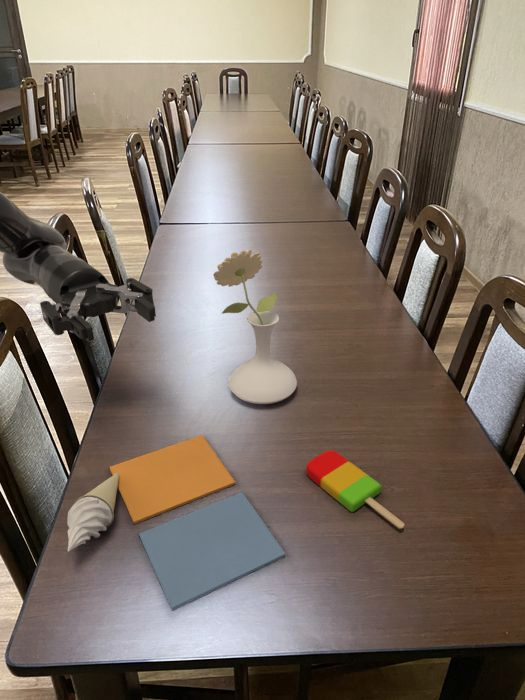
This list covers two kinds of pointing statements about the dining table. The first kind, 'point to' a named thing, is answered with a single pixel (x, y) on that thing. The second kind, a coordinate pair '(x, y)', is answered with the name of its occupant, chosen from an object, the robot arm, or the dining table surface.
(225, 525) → the slate pad
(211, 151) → the dining table surface
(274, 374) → the flower in vase
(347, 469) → the popsicle
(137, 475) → the caramel pad
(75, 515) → the ice cream cone
